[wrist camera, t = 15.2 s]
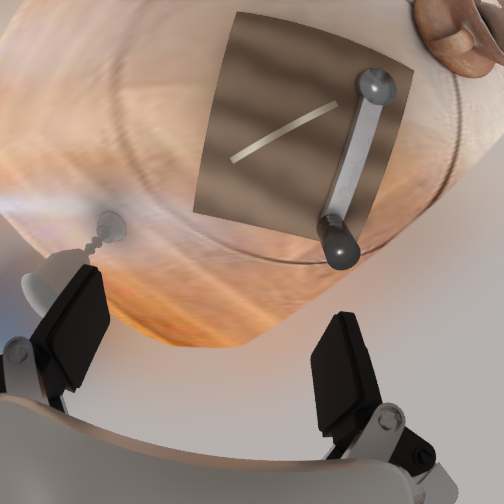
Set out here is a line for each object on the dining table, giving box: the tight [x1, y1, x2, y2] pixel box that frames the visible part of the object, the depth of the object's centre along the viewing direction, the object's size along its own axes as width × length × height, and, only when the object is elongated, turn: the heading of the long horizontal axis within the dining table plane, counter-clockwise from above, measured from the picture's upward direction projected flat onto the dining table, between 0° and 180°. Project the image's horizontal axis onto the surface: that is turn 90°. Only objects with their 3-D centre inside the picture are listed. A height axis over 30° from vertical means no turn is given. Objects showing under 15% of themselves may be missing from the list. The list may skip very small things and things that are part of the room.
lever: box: [316, 68, 397, 270], centre depth 25 cm, size 22×4×8 cm, turn 167°
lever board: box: [193, 12, 414, 242], centre depth 29 cm, size 26×22×2 cm
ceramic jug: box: [414, 0, 504, 78], centre depth 14 cm, size 18×14×14 cm
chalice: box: [21, 212, 126, 318], centre depth 30 cm, size 7×7×18 cm
